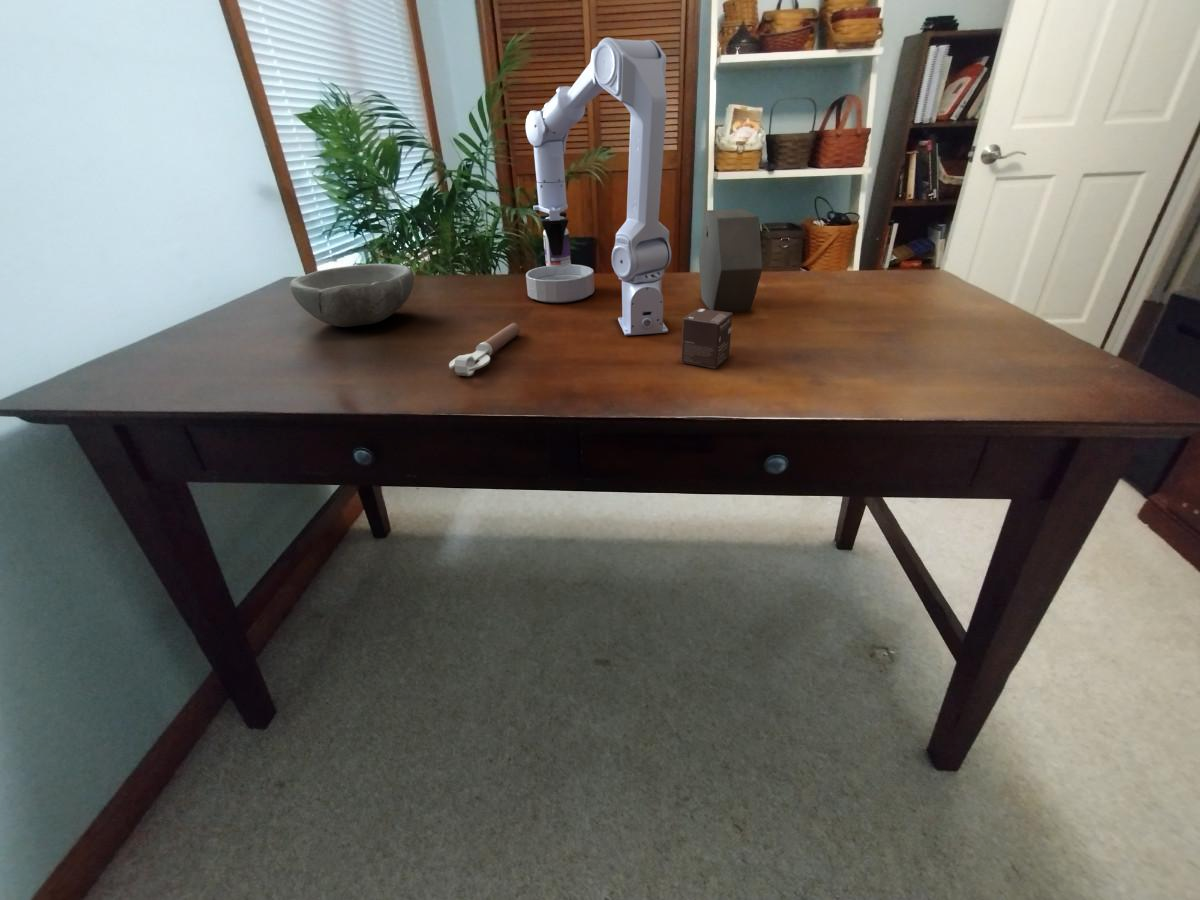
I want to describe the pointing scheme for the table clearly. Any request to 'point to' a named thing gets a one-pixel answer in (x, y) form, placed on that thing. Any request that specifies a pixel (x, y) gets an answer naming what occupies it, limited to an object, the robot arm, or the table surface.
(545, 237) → the pill bottle
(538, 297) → the round gray tray
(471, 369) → the manual can opener
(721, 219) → the planter
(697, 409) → the table surface
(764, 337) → the table surface
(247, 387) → the table surface
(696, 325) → the box
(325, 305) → the bowl
